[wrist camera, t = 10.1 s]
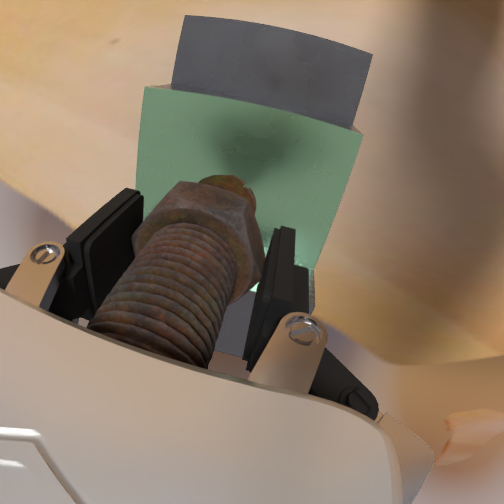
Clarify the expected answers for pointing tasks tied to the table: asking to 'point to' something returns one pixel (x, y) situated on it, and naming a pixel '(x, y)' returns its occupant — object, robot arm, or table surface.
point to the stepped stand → (257, 132)
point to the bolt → (186, 270)
